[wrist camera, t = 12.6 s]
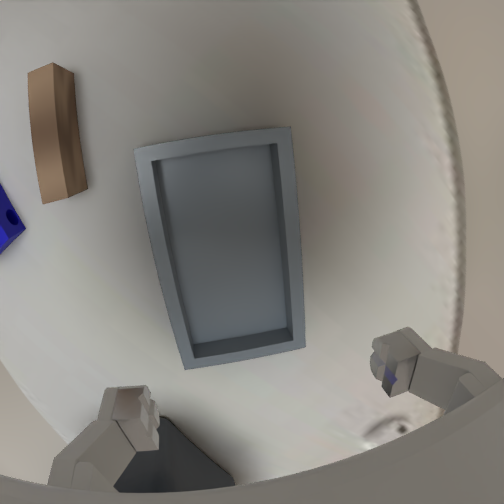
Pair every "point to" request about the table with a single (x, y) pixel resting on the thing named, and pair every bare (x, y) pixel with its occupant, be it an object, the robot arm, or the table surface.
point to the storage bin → (171, 467)
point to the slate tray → (226, 243)
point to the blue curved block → (8, 222)
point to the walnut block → (55, 133)
